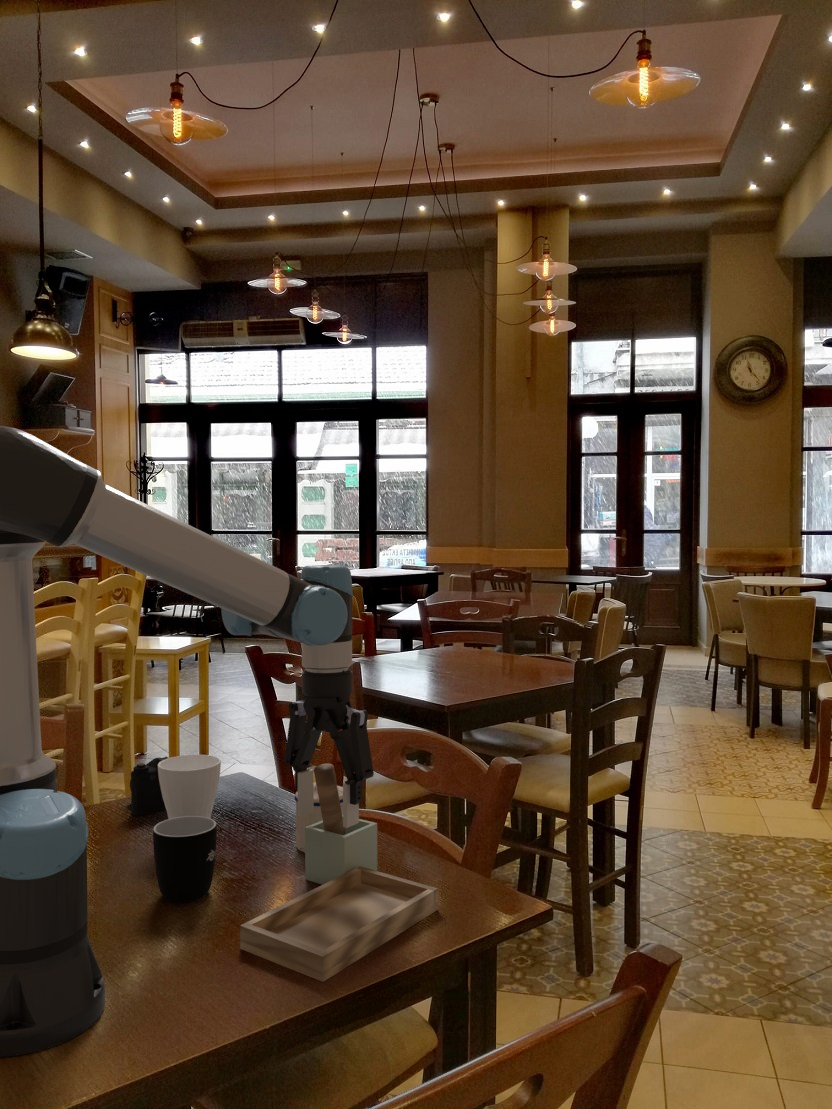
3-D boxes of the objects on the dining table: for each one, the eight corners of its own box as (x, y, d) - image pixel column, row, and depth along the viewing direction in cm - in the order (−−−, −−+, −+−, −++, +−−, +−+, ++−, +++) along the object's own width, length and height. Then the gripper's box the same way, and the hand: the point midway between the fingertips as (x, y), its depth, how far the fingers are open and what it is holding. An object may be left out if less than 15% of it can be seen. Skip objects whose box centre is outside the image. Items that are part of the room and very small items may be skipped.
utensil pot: (344, 891, 128) (344, 837, 128) (305, 879, 133) (305, 827, 133) (377, 874, 135) (377, 823, 134) (338, 863, 139) (338, 813, 139)
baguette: (327, 885, 129) (324, 770, 128) (312, 880, 130) (309, 767, 130) (355, 870, 134) (352, 759, 133) (340, 866, 136) (338, 756, 135)
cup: (189, 856, 142) (188, 774, 142) (144, 844, 148) (144, 765, 147) (234, 836, 151) (233, 759, 151) (190, 826, 157) (190, 751, 156)
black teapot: (182, 791, 178) (182, 742, 178) (206, 803, 170) (206, 752, 170) (115, 805, 169) (115, 754, 169) (137, 819, 161) (137, 765, 161)
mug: (215, 905, 124) (214, 834, 123) (149, 909, 122) (149, 838, 122) (219, 872, 136) (219, 807, 135) (160, 876, 134) (159, 811, 134)
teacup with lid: (355, 852, 144) (354, 782, 144) (300, 859, 141) (300, 787, 141) (337, 828, 155) (337, 763, 155) (286, 834, 152) (286, 768, 152)
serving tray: (323, 981, 103) (322, 956, 102) (240, 948, 111) (240, 925, 111) (437, 909, 122) (437, 888, 122) (360, 886, 130) (360, 866, 130)
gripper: (398, 671, 127) (399, 825, 128) (293, 659, 139) (293, 800, 140) (366, 678, 121) (367, 840, 122) (258, 665, 133) (259, 812, 134)
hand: (327, 818), depth 131 cm, fingers open, 8 cm apart
